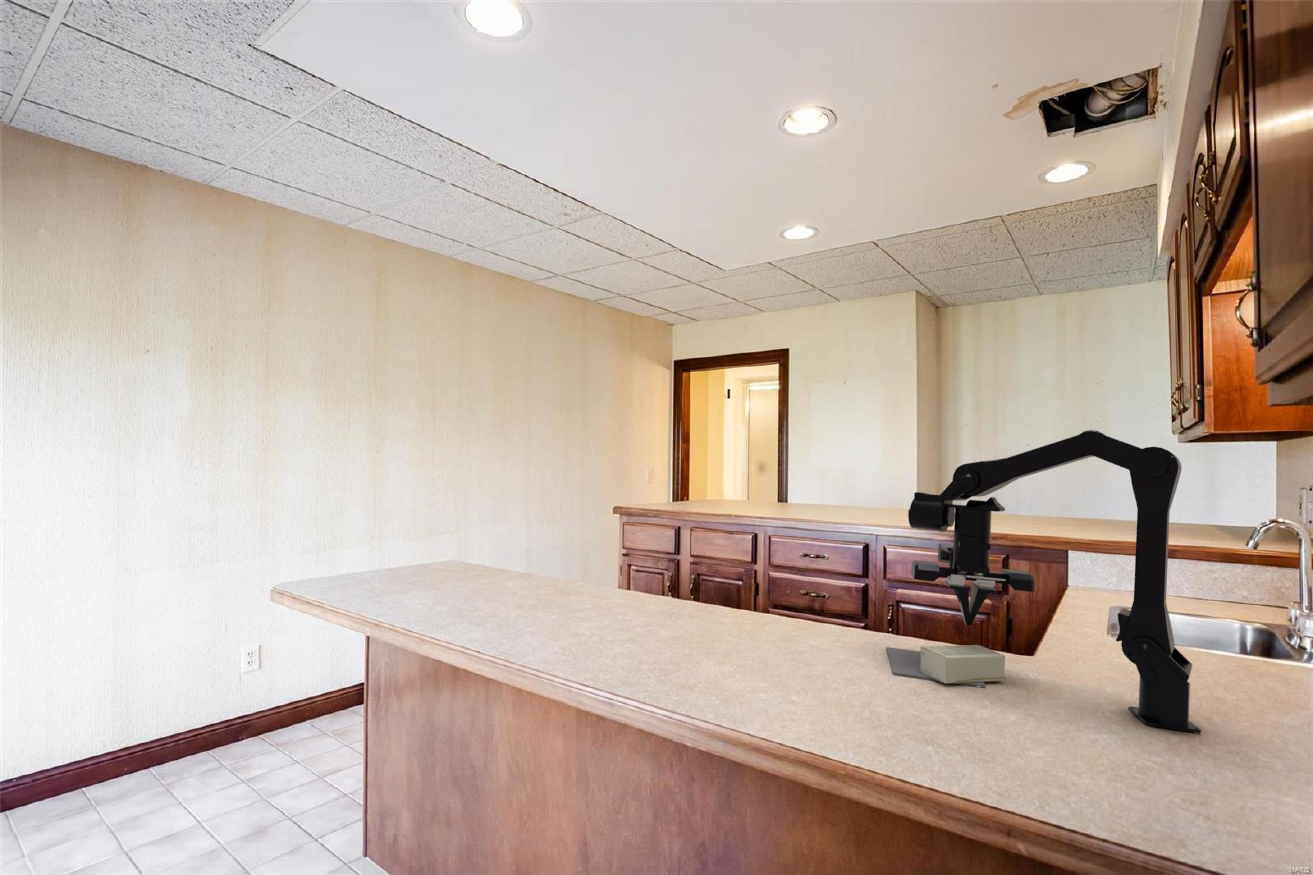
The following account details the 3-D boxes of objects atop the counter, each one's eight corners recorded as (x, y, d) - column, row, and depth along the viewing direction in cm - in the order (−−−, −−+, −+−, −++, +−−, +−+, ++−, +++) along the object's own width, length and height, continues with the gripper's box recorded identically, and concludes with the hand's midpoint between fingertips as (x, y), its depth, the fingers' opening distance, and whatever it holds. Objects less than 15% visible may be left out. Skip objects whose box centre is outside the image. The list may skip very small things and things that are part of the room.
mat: (985, 688, 102) (985, 685, 102) (893, 674, 106) (893, 672, 106) (966, 659, 117) (966, 657, 117) (886, 649, 121) (886, 646, 121)
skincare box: (976, 669, 111) (918, 672, 107) (977, 643, 111) (919, 645, 107) (1006, 681, 104) (945, 685, 101) (1006, 654, 105) (946, 657, 101)
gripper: (1018, 535, 116) (1015, 621, 115) (909, 526, 121) (905, 608, 120) (1037, 542, 105) (1033, 637, 105) (916, 532, 110) (912, 622, 110)
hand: (968, 625), depth 110 cm, fingers closed
